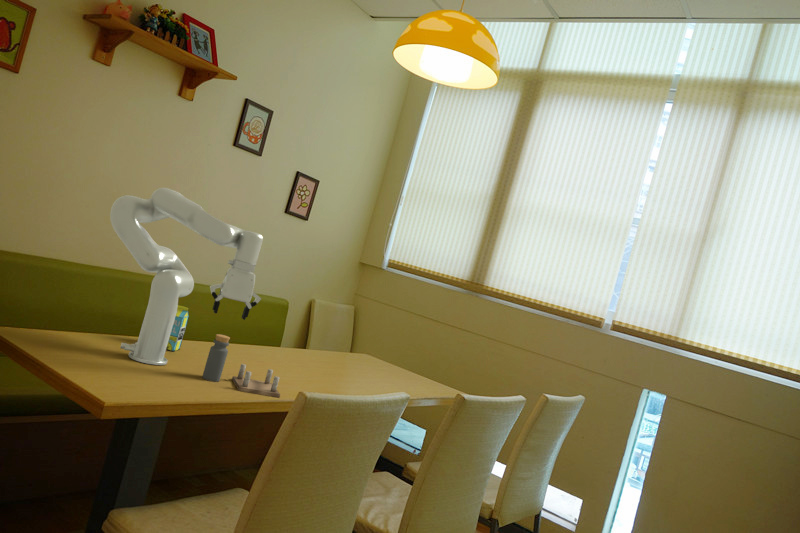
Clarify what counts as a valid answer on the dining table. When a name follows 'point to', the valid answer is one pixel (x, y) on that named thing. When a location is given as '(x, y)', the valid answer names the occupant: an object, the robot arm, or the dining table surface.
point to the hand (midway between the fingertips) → (229, 315)
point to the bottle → (216, 359)
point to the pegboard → (256, 383)
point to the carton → (178, 329)
